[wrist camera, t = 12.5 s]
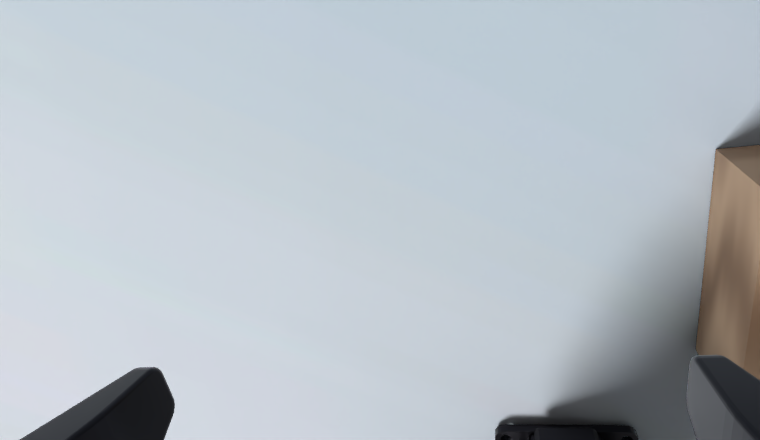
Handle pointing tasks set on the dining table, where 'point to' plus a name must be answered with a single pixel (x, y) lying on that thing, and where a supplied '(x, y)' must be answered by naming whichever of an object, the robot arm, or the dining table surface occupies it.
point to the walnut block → (733, 261)
